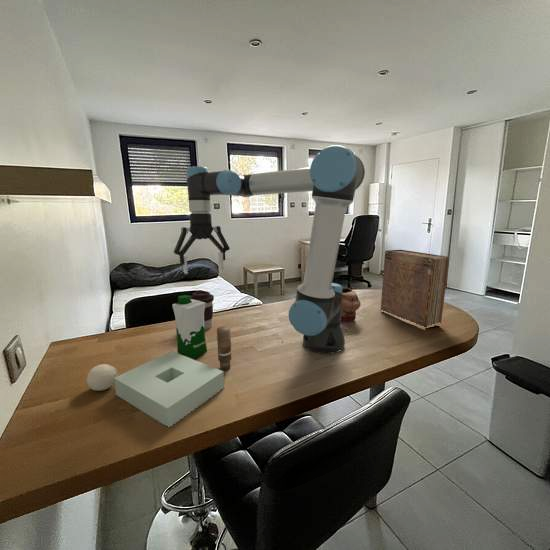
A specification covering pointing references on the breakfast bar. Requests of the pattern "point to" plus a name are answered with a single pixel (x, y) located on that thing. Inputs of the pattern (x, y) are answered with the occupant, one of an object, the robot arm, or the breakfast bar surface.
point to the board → (169, 386)
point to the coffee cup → (208, 311)
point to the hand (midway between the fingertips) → (204, 271)
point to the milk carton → (190, 326)
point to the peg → (224, 347)
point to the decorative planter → (349, 305)
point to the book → (414, 286)
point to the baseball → (101, 377)
